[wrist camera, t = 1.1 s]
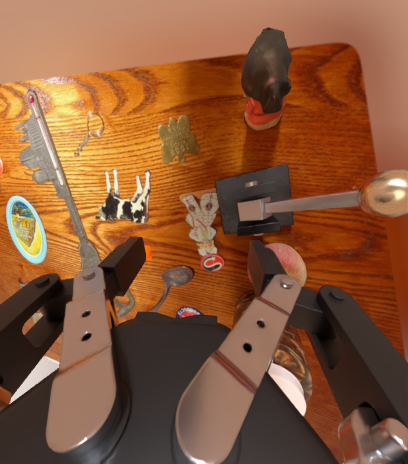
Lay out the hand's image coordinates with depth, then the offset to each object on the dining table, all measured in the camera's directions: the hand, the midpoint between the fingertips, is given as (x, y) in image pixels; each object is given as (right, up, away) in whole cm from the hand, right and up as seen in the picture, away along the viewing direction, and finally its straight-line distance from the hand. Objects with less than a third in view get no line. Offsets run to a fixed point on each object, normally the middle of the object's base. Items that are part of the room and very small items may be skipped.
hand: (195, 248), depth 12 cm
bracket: (+10, +7, +17) cm, 21 cm away
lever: (+11, +4, +4) cm, 12 cm away
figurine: (+10, +20, +14) cm, 27 cm away
